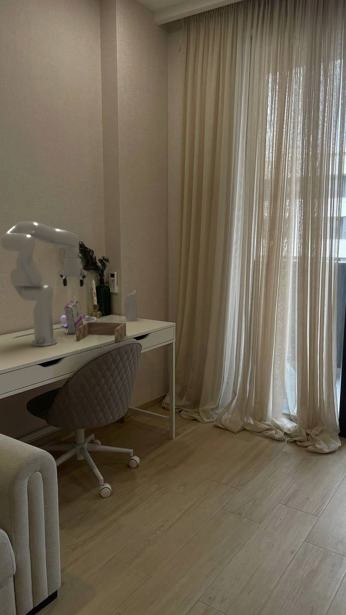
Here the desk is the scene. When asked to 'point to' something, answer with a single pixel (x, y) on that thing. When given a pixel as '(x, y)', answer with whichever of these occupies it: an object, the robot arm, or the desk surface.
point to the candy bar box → (73, 315)
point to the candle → (130, 307)
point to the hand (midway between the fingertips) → (73, 286)
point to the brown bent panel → (101, 330)
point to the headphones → (87, 319)
